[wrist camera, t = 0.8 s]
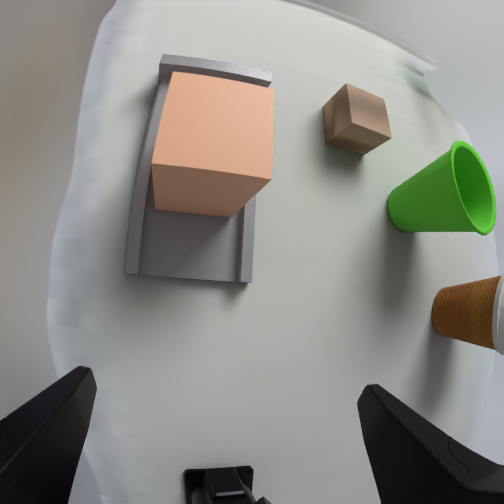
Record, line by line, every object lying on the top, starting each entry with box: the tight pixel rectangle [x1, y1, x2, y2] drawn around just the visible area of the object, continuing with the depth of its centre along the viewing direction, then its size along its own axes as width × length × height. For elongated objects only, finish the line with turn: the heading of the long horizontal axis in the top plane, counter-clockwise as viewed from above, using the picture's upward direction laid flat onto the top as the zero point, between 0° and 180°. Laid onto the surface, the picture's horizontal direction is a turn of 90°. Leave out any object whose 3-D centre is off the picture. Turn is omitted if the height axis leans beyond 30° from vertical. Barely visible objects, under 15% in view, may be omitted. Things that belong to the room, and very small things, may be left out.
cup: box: [387, 141, 496, 235], centre depth 25 cm, size 9×9×11 cm
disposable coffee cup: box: [432, 274, 504, 355], centre depth 25 cm, size 10×10×12 cm
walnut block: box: [323, 83, 392, 155], centre depth 26 cm, size 5×5×5 cm
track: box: [124, 54, 272, 283], centre depth 22 cm, size 20×10×4 cm, turn 177°
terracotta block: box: [152, 71, 274, 218], centre depth 18 cm, size 6×6×9 cm
